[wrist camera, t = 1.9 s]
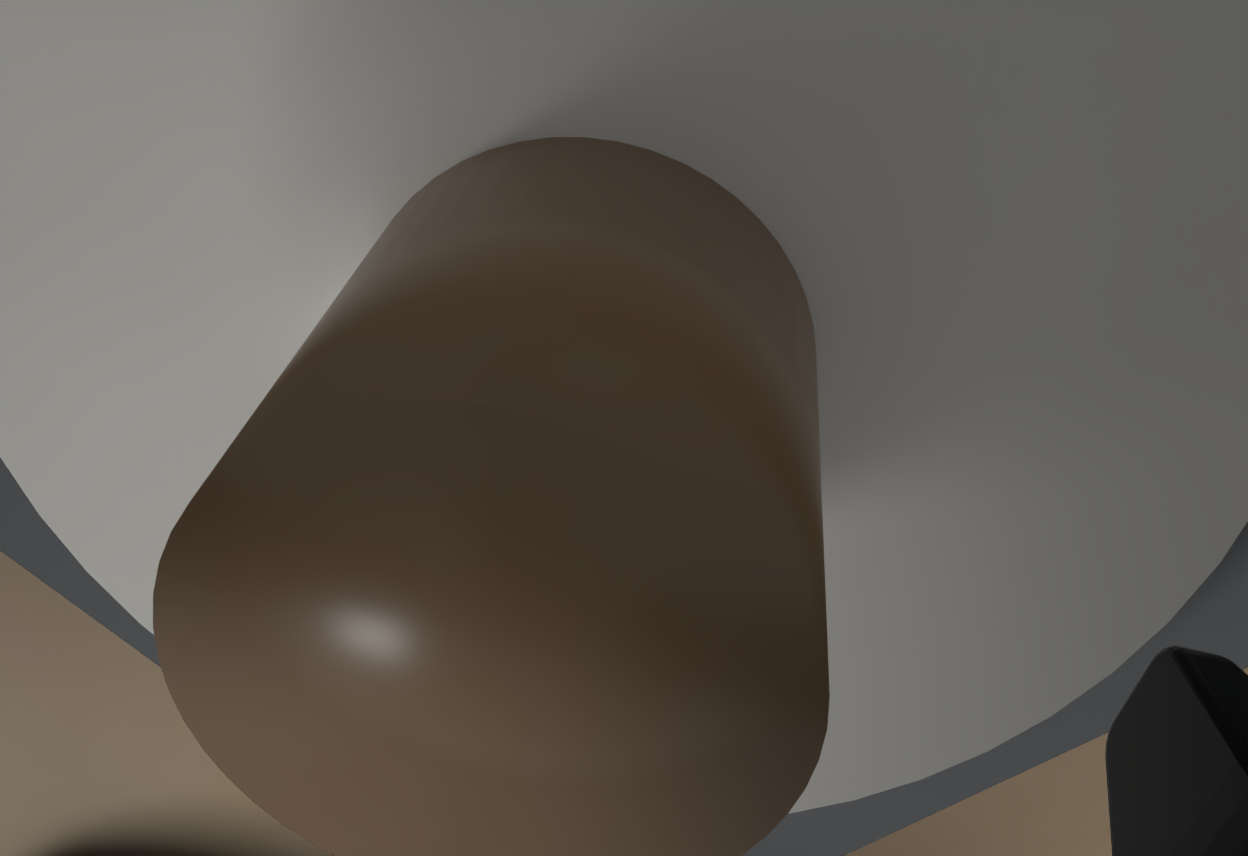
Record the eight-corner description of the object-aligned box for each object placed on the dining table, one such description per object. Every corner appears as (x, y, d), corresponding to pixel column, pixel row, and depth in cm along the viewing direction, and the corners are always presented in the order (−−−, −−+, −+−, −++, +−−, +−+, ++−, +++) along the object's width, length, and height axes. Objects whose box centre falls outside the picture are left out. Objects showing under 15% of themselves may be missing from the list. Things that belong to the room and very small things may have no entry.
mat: (-380, 196, 13) (-444, 227, 12) (655, -1616, 6) (639, -1770, 5) (592, 926, 18) (584, 975, 17) (1747, 358, 11) (1810, 404, 10)
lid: (-244, 244, 12) (-803, 559, 8) (620, -1062, 7) (328, -2316, 2) (589, 881, 16) (517, 1320, 12) (1554, 381, 10) (2063, 859, 6)
